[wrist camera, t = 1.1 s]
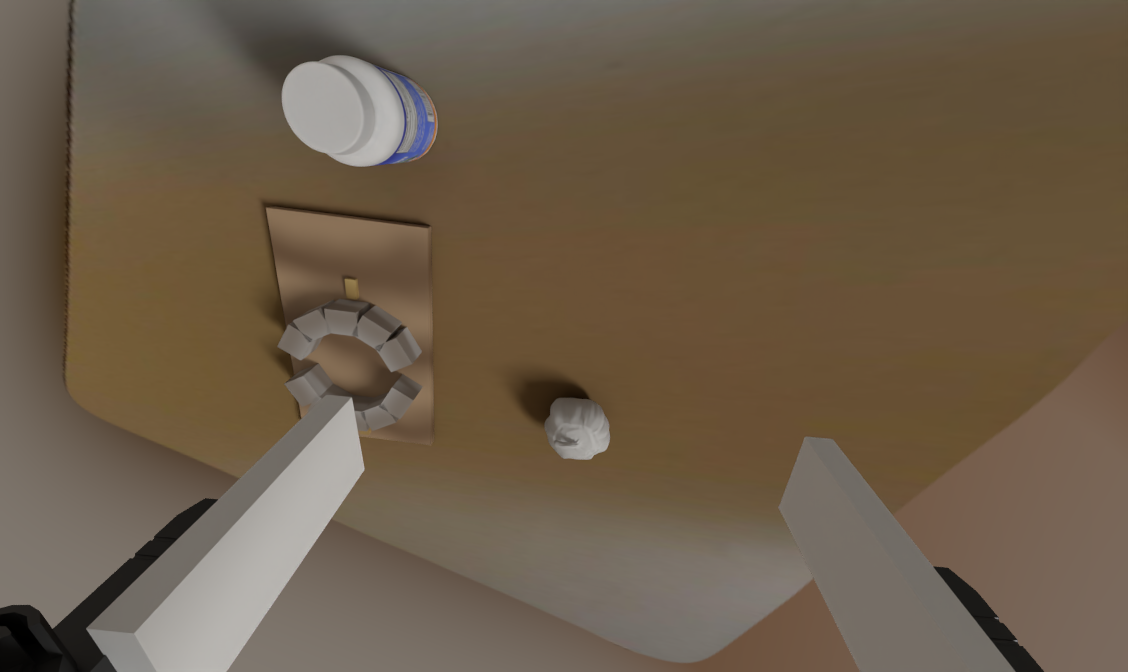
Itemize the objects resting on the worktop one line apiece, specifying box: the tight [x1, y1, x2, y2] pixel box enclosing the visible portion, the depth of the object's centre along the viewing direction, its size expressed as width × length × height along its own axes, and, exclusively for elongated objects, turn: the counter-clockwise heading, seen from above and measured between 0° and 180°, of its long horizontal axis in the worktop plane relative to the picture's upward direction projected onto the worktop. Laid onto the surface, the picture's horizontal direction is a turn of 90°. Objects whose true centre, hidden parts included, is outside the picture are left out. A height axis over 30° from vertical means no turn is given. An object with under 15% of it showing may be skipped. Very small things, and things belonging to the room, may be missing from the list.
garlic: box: [545, 398, 610, 459], centre depth 36 cm, size 6×5×5 cm
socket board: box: [266, 206, 434, 445], centre depth 35 cm, size 20×12×3 cm, turn 173°
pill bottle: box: [282, 55, 438, 167], centre depth 25 cm, size 5×5×10 cm
